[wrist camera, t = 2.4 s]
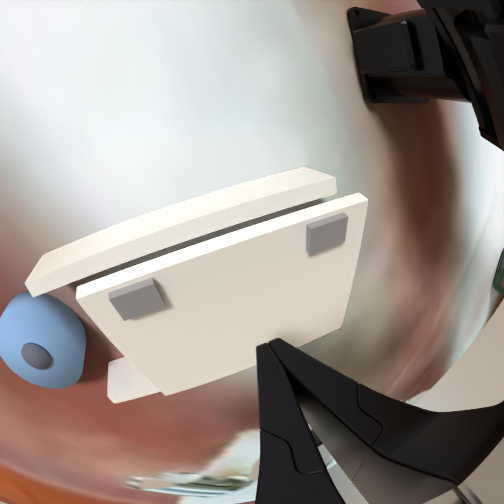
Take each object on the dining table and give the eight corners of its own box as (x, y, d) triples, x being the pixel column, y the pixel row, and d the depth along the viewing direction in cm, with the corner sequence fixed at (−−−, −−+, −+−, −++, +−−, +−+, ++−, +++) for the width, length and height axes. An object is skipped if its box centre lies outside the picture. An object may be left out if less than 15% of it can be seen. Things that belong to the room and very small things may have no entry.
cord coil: (56, 276, 13) (44, 302, 11) (103, 351, 16) (101, 381, 14) (-9, 304, 12) (-23, 329, 9) (39, 369, 15) (33, 396, 12)
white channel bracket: (303, 166, 15) (340, 179, 12) (317, 296, 19) (344, 324, 17) (42, 254, 12) (21, 287, 9) (114, 369, 16) (114, 408, 13)
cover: (358, 192, 11) (373, 203, 10) (336, 319, 17) (343, 330, 16) (77, 286, 8) (75, 305, 8) (163, 386, 14) (166, 400, 14)
